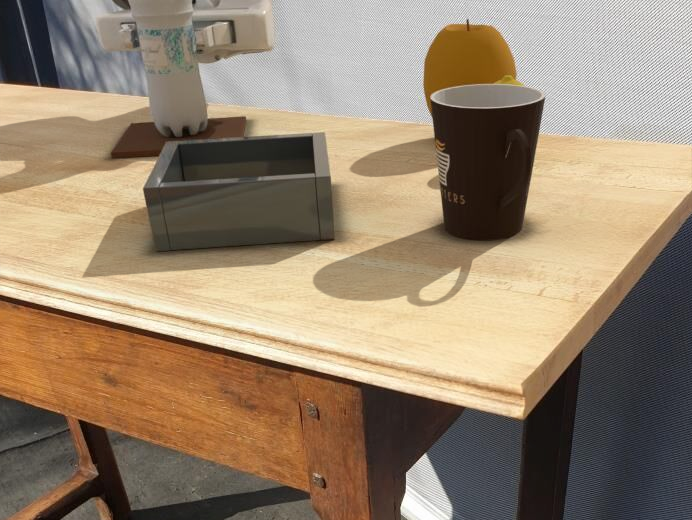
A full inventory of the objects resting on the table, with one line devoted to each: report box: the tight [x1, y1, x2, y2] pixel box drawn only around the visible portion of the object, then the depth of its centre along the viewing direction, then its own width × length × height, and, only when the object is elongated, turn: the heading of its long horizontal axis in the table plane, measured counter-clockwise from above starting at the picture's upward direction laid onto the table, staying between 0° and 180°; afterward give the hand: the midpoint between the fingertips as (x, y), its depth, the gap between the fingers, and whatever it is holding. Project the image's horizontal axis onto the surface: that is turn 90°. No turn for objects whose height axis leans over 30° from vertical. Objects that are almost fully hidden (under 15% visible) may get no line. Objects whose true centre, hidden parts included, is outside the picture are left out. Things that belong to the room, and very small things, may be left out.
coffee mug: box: [430, 84, 546, 241], centre depth 64 cm, size 12×9×10 cm
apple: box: [422, 18, 518, 117], centre depth 88 cm, size 10×10×12 cm
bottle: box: [128, 0, 209, 137], centre depth 91 cm, size 7×7×20 cm
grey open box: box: [142, 131, 336, 252], centre depth 71 cm, size 14×14×5 cm
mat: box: [110, 115, 247, 159], centre depth 96 cm, size 14×14×1 cm
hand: (163, 39), depth 90 cm, fingers open, 7 cm apart
